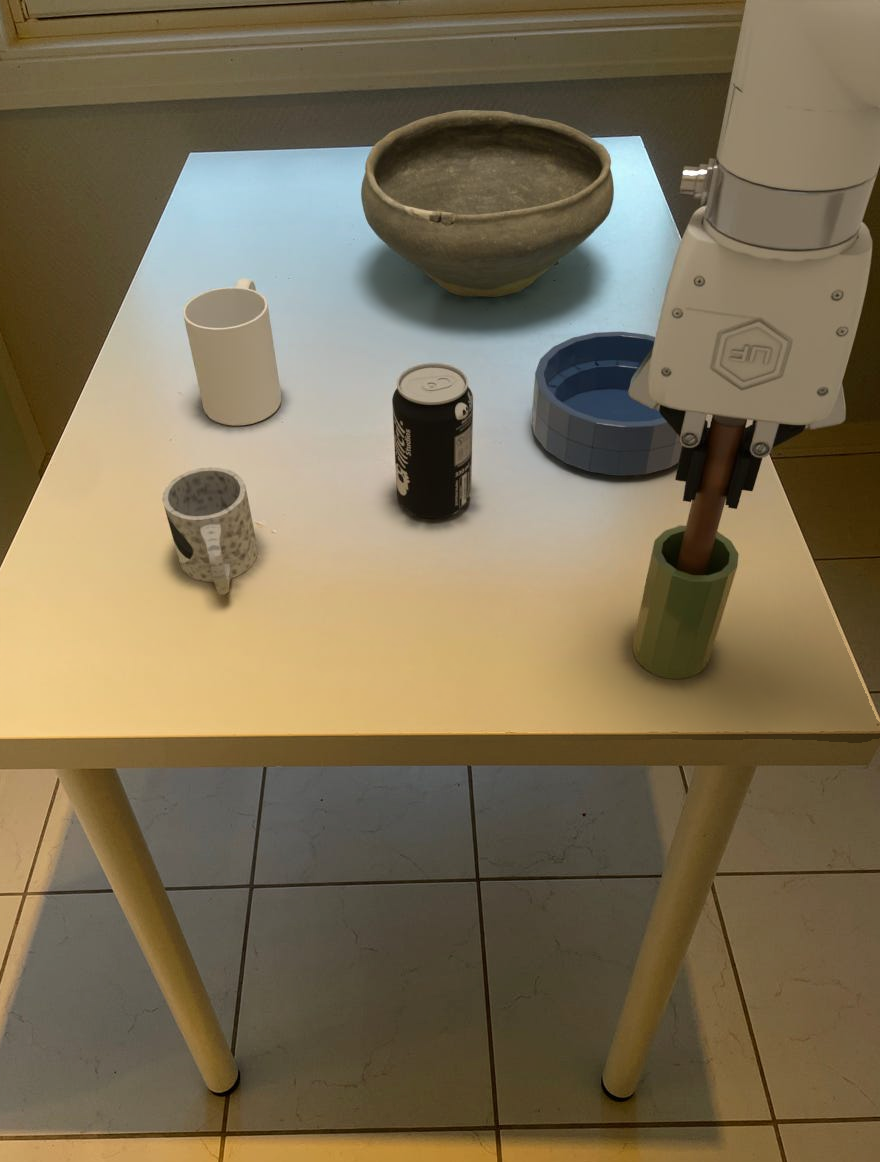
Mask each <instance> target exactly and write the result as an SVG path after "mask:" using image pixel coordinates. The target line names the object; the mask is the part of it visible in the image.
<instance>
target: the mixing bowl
mask: <svg viewBox="0 0 880 1162" xmlns="http://www.w3.org/2000/svg"><path fill="white" fill-rule="evenodd" d="M655 337H656V336H653V335H649V334H646V333H639V332H638V333H637V332H628V331H603V332H602V331H601V332H600V331H599V332H592V333H586V334H582V335H578V336H573V337H571V338H569V339H567V340H564V341H562V342H560V343H558V344H556V345H554V346H552V347H551V348H550V349H549V350H548V351H547V352H546V353H544V355H543V356H542V357H540V359H539V362H538V365H537V367H536V370H535V372H534V383H533V384H534V385H533V397H532V398H533V399H532V411H531V424H532V430H533V435H534V437H535V438H536V440H537V441H538V443H540V444H541V446H542V447H543V448H544V450H545V451H547V452H548V453H550V454H551V455H553V456H554V457H556V458H558V459H559V460H560V461H561V462H563V463H565V464H567V465H569V466H573V467H575V468H578V469H580V470H584V471H587V472H590V473H596V474H602V475H608V476H609V475H610V476H619V477H620V476H639V475H640V476H641V475H648V474H652V473H656V472H659V471H664V470H667V469H670V468H672V467H673V466H675V465H678V462H679V458H680V453H681V449H682V445H681V443H680V436H679V435H678V434H677V433H676V432H675V430H674V429H673V428H672V427H671V426H670V425H669V423H668V422H667V421H666V420H665V419H664V418H663V417H662V415H661V414H660V412H659V411H658V410H656V409H654V410H653V409H651V408H650V407H648V406H646V405H644V404H642V403H640V402H638V401H636V400H634V399H632V398H631V397H630V396H629V394H628V390H629V386H630V382H631V379H632V377H633V375H634V374H635V373H636V371H637V370H638V368H639V367H640V365H641V364H642V362H643V361H644V359H645V358H646V357H647V355H648V354H649V352H650V351H651V349H652V348H653V346H654V341H655ZM667 372H668V371H667Z"/></svg>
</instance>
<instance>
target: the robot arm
mask: <svg viewBox="0 0 880 1162" xmlns="http://www.w3.org/2000/svg"><path fill="white" fill-rule="evenodd" d="M733 61H734V62H733V66H732V71H731V76H730V81H729V87H728V92H727V98H726V102H725V107H724V113H723V117H722V118H723V119H722V125H721V129H720V135H719V140H718V144H717V149H716V154H715V158H712V157H710V158H709V159H708V163H707V164H705V163H700V164H699V166H689V165H684V166H683V170H682V175H681V182H680V186H679V192H678V195H679V196H689V197H693V199H694V200H700V205H699V206H700V207H699V208H697V209H696V210H695V211H694V212H693V213H692V215H691V217H690V219H689V221H688V224H687V226H686V229H685V231H684V233H683V235H682V238H681V240H680V243H679V245H678V249H677V251H676V254H675V258H674V261H673V265H672V269H671V272H670V275H669V278H668V282H667V285H666V289H665V292H664V293H665V294H664V297H663V302H662V306H661V311H660V316H659V319H658V324H657V326H656V327H657V328H656V332H655V336H654V337H655V341H654V346H653V348H652V349H651V351H650V352H649V354H648V355H647V357H646V358H645V359H644V361H643V362H642V364H641V365H640V367H639V368H638V370H637V371H636V373H635V374H634V375H633V377H632V379H631V382H630V386H629V390H628V394H629V396H630V397H631V398H632V399H634V400H636V401H638V402H640V403H642V404H644V405H646V406H648V407H650V408H651V409H653V410H654V409H656V410H658V411H659V412H660V414H661V415H662V417H663V418H664V419H665V420H666V421H667V422H668V423H669V425H670V426H671V427H672V428H673V429H674V430H675V432H676V433H677V434H678V435H679V436H680V443H681V445H682V449H681V453H680V458H679V462H678V463H677V468H676V473H675V479H674V480H675V481H678V482H685V485H684V490H683V497H682V502H687V503H692V500H695V497H696V493H697V489H698V485H699V481H700V477H701V473H702V469H703V465H704V460H705V456H706V451H707V444H708V443H707V437H708V433H709V428H710V426H709V421H708V420H707V415H711V416H713V415H717V416H725V417H732V418H740V419H747V421H752V422H751V424H750V425H748V426H746V427H745V431H744V434H743V438H742V442H741V445H740V447H739V451H738V455H737V458H736V462H735V466H734V469H733V473H732V477H731V481H730V484H729V488H728V492H727V495H726V501H725V504H724V506H727V508H728V509H735V510H738V506H739V504H740V499H741V497H742V493H743V491H746V492H753V491H754V489H755V485H756V482H757V478H758V475H759V472H760V468H761V465H762V461H763V458H767V457H768V456H769V455H770V454H771V453H772V450H773V448H776V447H777V446H779V445H781V444H783V443H785V442H787V441H789V440H790V439H792V438H794V437H797V436H798V435H800V434H801V433H803V432H804V431H805V430H809V431H813V430H819V429H824V428H829V427H836V426H840V425H841V424H843V423H844V422H845V421H846V417H847V413H846V412H847V409H846V400H845V398H846V397H845V392H844V387H843V379H844V376H845V373H846V369H847V366H848V362H849V360H850V356H851V352H852V348H853V346H854V343H855V342H854V341H855V339H856V335H857V334H856V333H857V332H858V331H857V330H858V327H859V322H860V318H861V314H862V310H863V306H864V302H865V297H866V292H867V288H868V283H869V276H870V270H871V264H872V255H873V239H872V236H871V233H870V229H869V228H868V226H867V225H866V223H865V222H863V219H864V217H865V213H866V210H867V207H868V204H869V202H870V201H869V200H870V197H871V196H872V195H871V194H872V191H873V188H874V185H875V181H876V179H877V176H878V172H879V168H880V0H746V1H745V6H744V10H743V16H742V20H741V26H740V31H739V36H738V41H737V45H736V52H735V56H734V60H733ZM667 371H668V372H667Z"/></svg>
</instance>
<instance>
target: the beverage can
mask: <svg viewBox="0 0 880 1162" xmlns="http://www.w3.org/2000/svg"><path fill="white" fill-rule="evenodd" d="M391 402H392V422H393V423H392V424H393V444H394V445H393V446H394V463H395V484H396V497H397V500H398V502H399V504H400V505H401V506H402V507H403V509H405V510H407V511H408V512H409V513H410V514H412V515H414V516H416V517H419V518H422V519H426V520H440V519H445V518H449V517H452V516H453V515H455V514H457V513H458V512H459V511H460V510H462V509H463V508H464V507H465V506H466V505H467V504H468V503H469V502H470V499H471V496H472V473H473V471H472V470H473V433H474V432H473V430H474V429H473V426H474V394H473V391H472V390H471V388H470V386H469V379H468V376H467V374H466V373H465V372H464V371H462V370H461V369H460V368H458V367H456V366H454V365H452V364H448V363H442V362H425V363H420V364H416V365H413V366H410V367H409V368H406V369H405V370H404V371H402V372H401V373H400V375H399V376H398V378H397V380H396V389H395V390H394V392H393V395H392V399H391Z"/></svg>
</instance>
